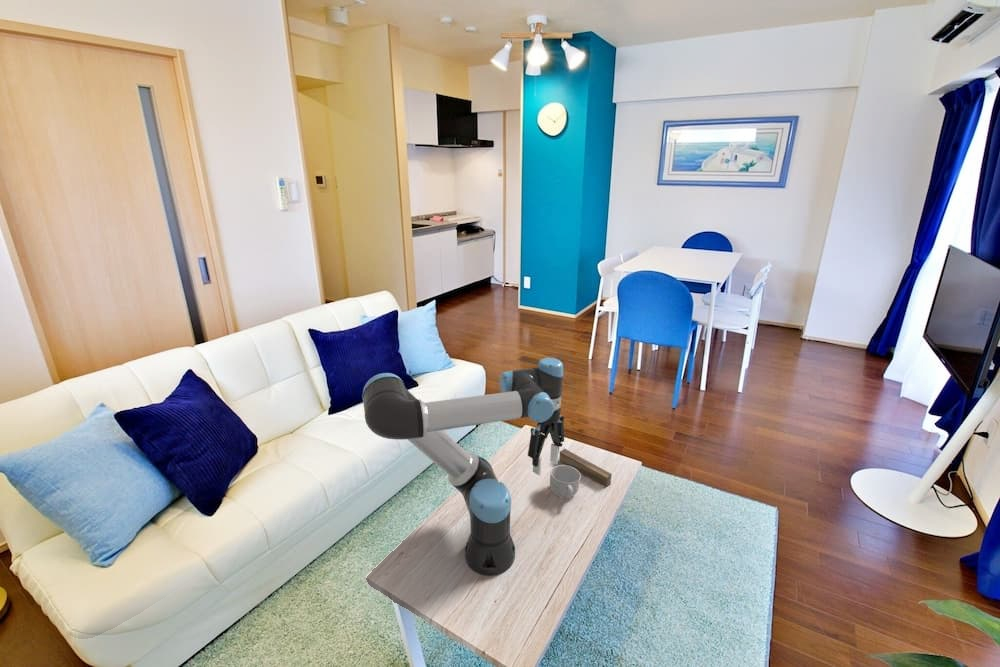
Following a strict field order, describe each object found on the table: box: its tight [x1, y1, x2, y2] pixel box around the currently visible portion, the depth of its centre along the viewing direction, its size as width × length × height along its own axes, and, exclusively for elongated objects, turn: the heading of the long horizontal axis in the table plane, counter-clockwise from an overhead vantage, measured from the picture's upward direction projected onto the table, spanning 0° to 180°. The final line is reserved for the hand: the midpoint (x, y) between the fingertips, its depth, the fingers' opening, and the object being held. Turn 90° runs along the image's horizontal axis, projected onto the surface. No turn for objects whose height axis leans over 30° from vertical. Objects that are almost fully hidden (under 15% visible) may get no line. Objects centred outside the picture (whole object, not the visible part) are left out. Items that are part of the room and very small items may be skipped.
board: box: [558, 448, 612, 489], centre depth 178 cm, size 3×22×4 cm, turn 44°
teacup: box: [549, 464, 582, 498], centre depth 166 cm, size 14×11×8 cm
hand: (545, 467), depth 154 cm, fingers open, 8 cm apart
